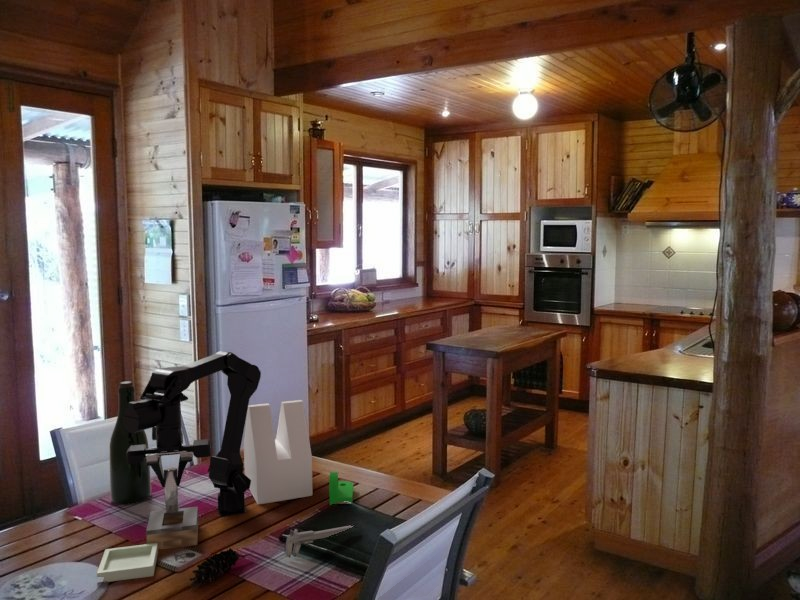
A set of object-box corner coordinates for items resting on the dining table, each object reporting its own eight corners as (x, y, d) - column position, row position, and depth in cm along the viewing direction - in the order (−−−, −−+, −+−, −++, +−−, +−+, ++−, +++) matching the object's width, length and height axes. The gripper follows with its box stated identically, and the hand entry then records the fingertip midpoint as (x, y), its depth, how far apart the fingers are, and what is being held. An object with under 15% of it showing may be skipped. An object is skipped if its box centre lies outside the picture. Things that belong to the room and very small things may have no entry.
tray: (158, 553, 148) (157, 542, 148) (153, 577, 138) (153, 565, 137) (106, 559, 145) (105, 549, 145) (97, 584, 135) (96, 573, 134)
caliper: (288, 560, 144) (288, 533, 143) (285, 558, 145) (285, 531, 144) (358, 530, 158) (358, 505, 157) (355, 528, 159) (355, 504, 158)
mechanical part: (351, 504, 175) (351, 476, 175) (329, 505, 175) (329, 476, 175) (353, 487, 187) (353, 461, 187) (333, 488, 187) (332, 461, 186)
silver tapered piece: (178, 514, 152) (177, 473, 151) (165, 516, 151) (163, 475, 150) (178, 504, 158) (176, 464, 157) (165, 506, 157) (163, 466, 156)
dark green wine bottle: (152, 489, 187) (147, 376, 184) (150, 503, 177) (145, 384, 174) (112, 493, 183) (107, 379, 180) (108, 508, 173) (102, 387, 170)
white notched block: (244, 480, 193) (242, 398, 191) (295, 473, 199) (293, 393, 197) (257, 504, 176) (255, 414, 173) (312, 495, 182) (310, 408, 179)
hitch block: (198, 525, 162) (197, 506, 162) (197, 545, 152) (196, 524, 151) (151, 531, 159) (151, 511, 159) (147, 551, 149) (146, 530, 148)
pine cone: (199, 568, 130) (180, 568, 132) (204, 593, 130) (184, 592, 132) (253, 534, 146) (235, 534, 148) (257, 556, 146) (239, 556, 148)
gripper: (210, 410, 163) (212, 470, 164) (130, 416, 158) (133, 478, 159) (209, 422, 152) (211, 486, 154) (124, 429, 147) (127, 495, 149)
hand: (171, 486), depth 154 cm, fingers closed on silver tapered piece, 3 cm apart
